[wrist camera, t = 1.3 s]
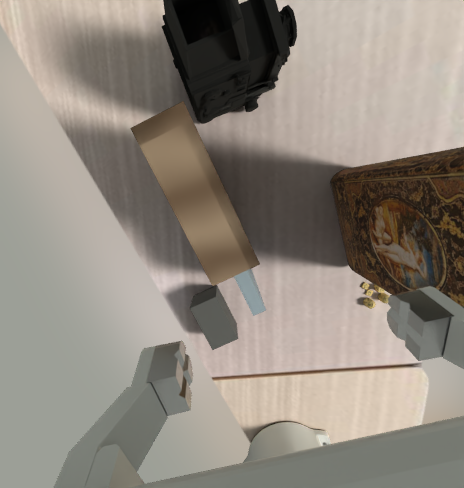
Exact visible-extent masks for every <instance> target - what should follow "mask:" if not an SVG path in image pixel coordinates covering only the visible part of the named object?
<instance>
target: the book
mask: <svg viewBox="0 0 464 488" xmlns="http://www.w3.org/2000/svg"><path fill="white" fill-rule="evenodd" d="M330 183H331V187H332V192H333V196H334V201H335V205H336V210H337V215H338V219H339V224H340V228H341V233H342V238H343V242H344V247H345V251H346V255H347V259H348V264H349V266H350V268H351V269H352V270H353V271H354V272H356V273H357V274H359V275H361V276H362V277H364V278H366V279H367V280H369V281H370V282H372V283H374V284H375V285H377V286H379V287H380V288H382V289H384V290H385V291H387V292H388V293H390V294H392V295H394V294H398V293H402V292H407V291H411V290H416V289H419V288H424V287H428V286H431V287H434V288H436V289H437V290H439V291H440V292H442V293H443V294H444V295H446V296H447V297H449V298H450V299H452V300H453V301H454V302H456V303H457V304H459V305H460V306H462V307H463V308H464V147H461V148H456V149H450V150H445V151H440V152H434V153H429V154H423V155H418V156H413V157H407V158H402V159H397V160H391V161H386V162H380V163H375V164H370V165H364V166H359V167H354V168H348V169H344V170H342V171H340V172H338V173H337V174H335V175H334V176H333V178H332V179H331V182H330Z"/></svg>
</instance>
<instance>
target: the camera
mask: <svg viewBox="0 0 464 488" xmlns="http://www.w3.org/2000/svg"><path fill="white" fill-rule="evenodd" d="M163 1H164V9H165V15H163V20H164V23H165V25H164V26H162V29H163V31H164V34H165V36H166V39H167V42H168V44H169V47H170V50H171V52H172V55H173V57H174V60H173V62H174V64H175V67H176V68H177V69H178V71H179V73H180V76H181V79H182V81H183V84H184V86H185V89H186V92H187V94H188V97H189V100H190V102H191V105H192V107H193V110H194V113H195V115H196V118H197V120H198V121H200V122H201V123H207V122H209V121H211V120H212V119H213V118H215V117H218V116H220V115H223V114H225V113H228V112H230V111H233V110H235V109H238V108H240V107H243V106H245V110H246V112H251V111H253V110H255V109H256V108H257V107H258V104H257V99H258V98H259V97H258V96H260V95H261V94H262V93H264V92H267V91H269V90H272V89H274V88H275V87H276V86H275V83H274V82H275V81H277V80H278V73H279V71H280V69H281V67H282V65H285V62H287V57H288V56H289V55H290V48H289V47H291V46H294V44H295V41H296V38H297V26H296V20H295V16H294V12H293V10H292V9H291V8H290V6H289V5H287V6H285V7H283V9H282V11H280V12H279V11H278V7H277V4H276V0H248V1H246V2H243V3H241V4H239V2H238V0H163Z"/></svg>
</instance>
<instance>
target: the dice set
mask: <svg viewBox="0 0 464 488" xmlns="http://www.w3.org/2000/svg"><path fill="white" fill-rule="evenodd" d="M369 286H370V285H368V284H367V283H365V282H364V283H363V284H362V286H361V287H362V288H364V289H366V290H367V291H366V293H365V294H366V295H368V296H371V295H372V293H373V291H371V290H369V289H367V288H368V287H369ZM374 288H375V290H376V291H377V292H384V289H382V288H380V287H379V286H377V285H374ZM389 297H390V296H388V295H387V294H385V293H380V294H379V295H378V298H379V300H380V301H382V302H383V303H388V298H389ZM363 303H364V305H365V306H367V307H368V308H370V309H372V308H374V307H375V305H376V304H375V302H374V301H373V300H371V299H370V298H365V299H364V301H363Z"/></svg>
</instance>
